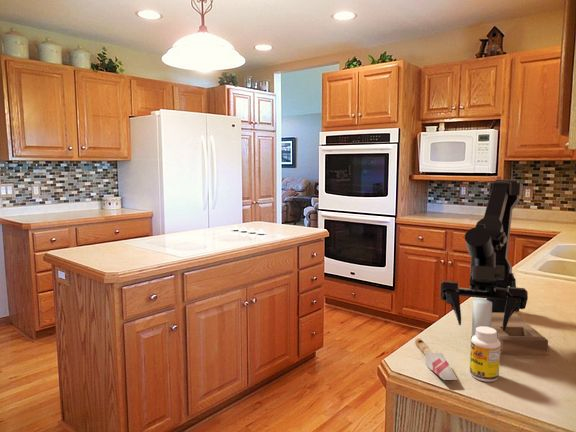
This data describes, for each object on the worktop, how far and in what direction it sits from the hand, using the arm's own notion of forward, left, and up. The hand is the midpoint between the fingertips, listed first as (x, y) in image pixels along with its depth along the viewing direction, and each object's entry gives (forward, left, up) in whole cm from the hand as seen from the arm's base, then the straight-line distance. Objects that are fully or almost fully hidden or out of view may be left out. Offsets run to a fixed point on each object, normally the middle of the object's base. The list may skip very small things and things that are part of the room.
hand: (481, 327), depth 99 cm
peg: (-1, 0, -7) cm, 7 cm away
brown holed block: (-10, +10, -7) cm, 16 cm away
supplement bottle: (+10, -3, -7) cm, 12 cm away
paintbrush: (+5, -12, -7) cm, 15 cm away
